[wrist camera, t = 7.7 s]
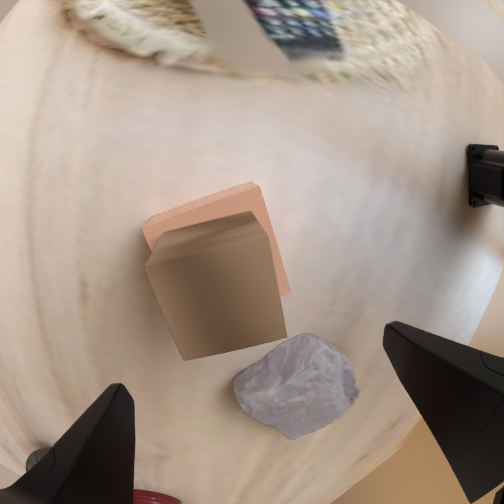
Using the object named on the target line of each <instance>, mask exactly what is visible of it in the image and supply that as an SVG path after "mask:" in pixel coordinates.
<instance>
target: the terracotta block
mask: <svg viewBox="0 0 504 504" xmlns="http://www.w3.org/2000/svg"><path fill="white" fill-rule="evenodd" d="M247 211H252V213H253V214H254V216H255V217H256V219H257V220H258V221H259V223H260V224H261V226H262V227H263V229H264V230H265V232H266V233H267V234H268V236H269V241H270V246H271V251H272V257H273V262H274V267H275V273H276V278H277V283H278V289H279V294H280V297H281V296H284V295H286V294H289V293H291V291H290V288H289V284H288V281H287V277H286V274H285V270H284V267H283V263H282V260H281V256H280V253H279V249H278V246H277V243H276V239H275V236H274V232H273V229H272V226H271V222H270V219H269V216H268V212H267V209H266V206H265V202H264V199H263V196H262V193H261V189H260V186H258V185H257V184H255V183H254V182H252V181H250V182H247V183H244V184H241V185H238V186H235V187H232V188H229V189H226V190H223V191H220V192H217V193H214V194H211V195H209V196H206V197H203V198H200V199H197V200H195V201H192V202H189V203H187V204H184V205H181V206H179V207H176V208H173V209H171V210H168V211H166V212H163V213H160V214H158V215H155V216H153V217H152V218H151V219H150V220H149V221H148V222H147V223H146V224H145V226H144V227H143V228H142V231H143V234H144V236H145V239H146V241H147V243H148V245H149V248H150V250H151V252H153V250H154V248H155V247H156V245H157V243H158V241H159V240H160V238H161V236H162V235H163V233H164V232H167V231H170V230H174V229H178V228H182V227H186V226H189V225H193V224H197V223H201V222H205V221H209V220H213V219H217V218H221V217H226V216H230V215H234V214H238V213H242V212H247Z"/></svg>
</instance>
